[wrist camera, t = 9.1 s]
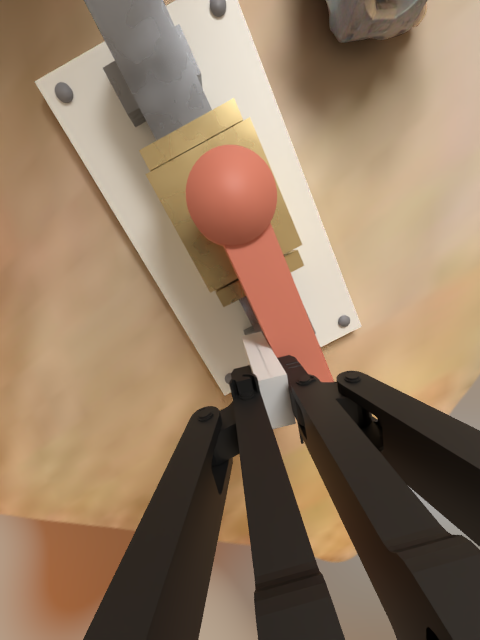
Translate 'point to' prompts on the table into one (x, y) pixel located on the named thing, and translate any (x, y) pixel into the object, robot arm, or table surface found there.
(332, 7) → the brake caliper
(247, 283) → the lever
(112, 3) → the pipe valve
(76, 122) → the mount board
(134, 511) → the table surface
